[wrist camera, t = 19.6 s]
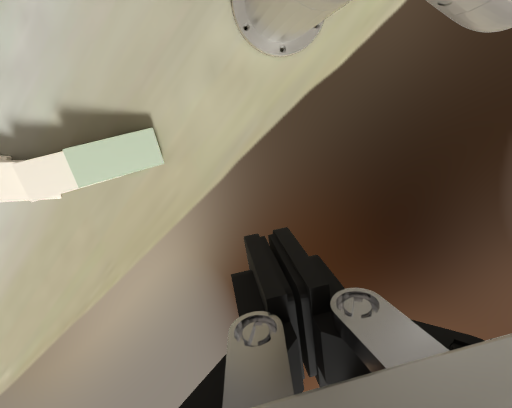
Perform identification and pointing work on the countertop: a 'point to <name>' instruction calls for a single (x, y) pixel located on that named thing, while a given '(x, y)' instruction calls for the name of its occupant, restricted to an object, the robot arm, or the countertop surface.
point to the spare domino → (113, 157)
